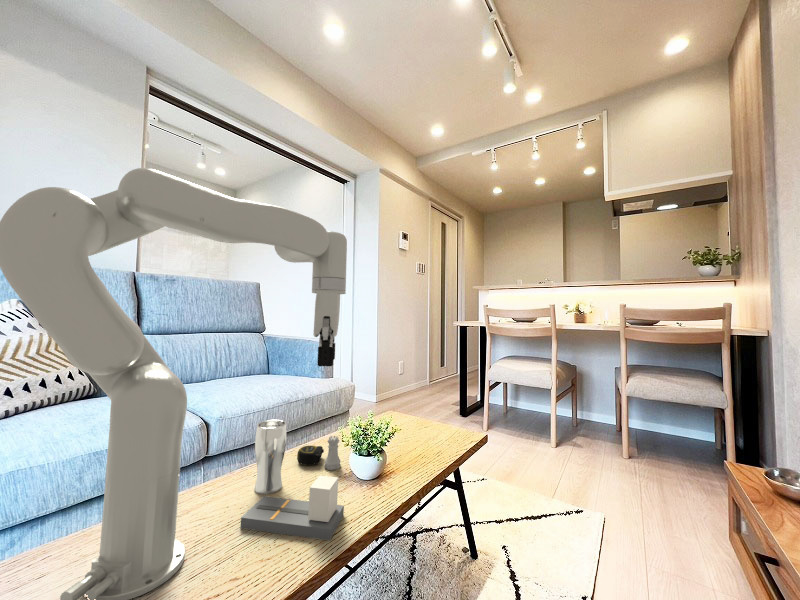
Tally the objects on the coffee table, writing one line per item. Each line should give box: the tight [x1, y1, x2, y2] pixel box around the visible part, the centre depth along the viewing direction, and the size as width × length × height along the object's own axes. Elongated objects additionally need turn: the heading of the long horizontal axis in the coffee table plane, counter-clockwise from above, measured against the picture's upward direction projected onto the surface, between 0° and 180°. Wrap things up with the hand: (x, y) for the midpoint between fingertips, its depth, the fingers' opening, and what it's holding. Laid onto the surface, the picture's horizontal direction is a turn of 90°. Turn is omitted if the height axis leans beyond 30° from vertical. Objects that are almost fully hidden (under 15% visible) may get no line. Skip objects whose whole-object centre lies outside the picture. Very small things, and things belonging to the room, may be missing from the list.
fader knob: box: [308, 475, 339, 522], centre depth 66 cm, size 5×4×6 cm
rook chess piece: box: [323, 435, 341, 471], centre depth 92 cm, size 4×4×8 cm
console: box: [240, 495, 345, 541], centre depth 67 cm, size 8×18×2 cm, turn 82°
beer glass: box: [254, 419, 287, 495], centre depth 80 cm, size 7×7×15 cm
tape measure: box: [296, 445, 325, 466], centre depth 95 cm, size 7×7×4 cm
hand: (326, 362), depth 75 cm, fingers open, 9 cm apart
